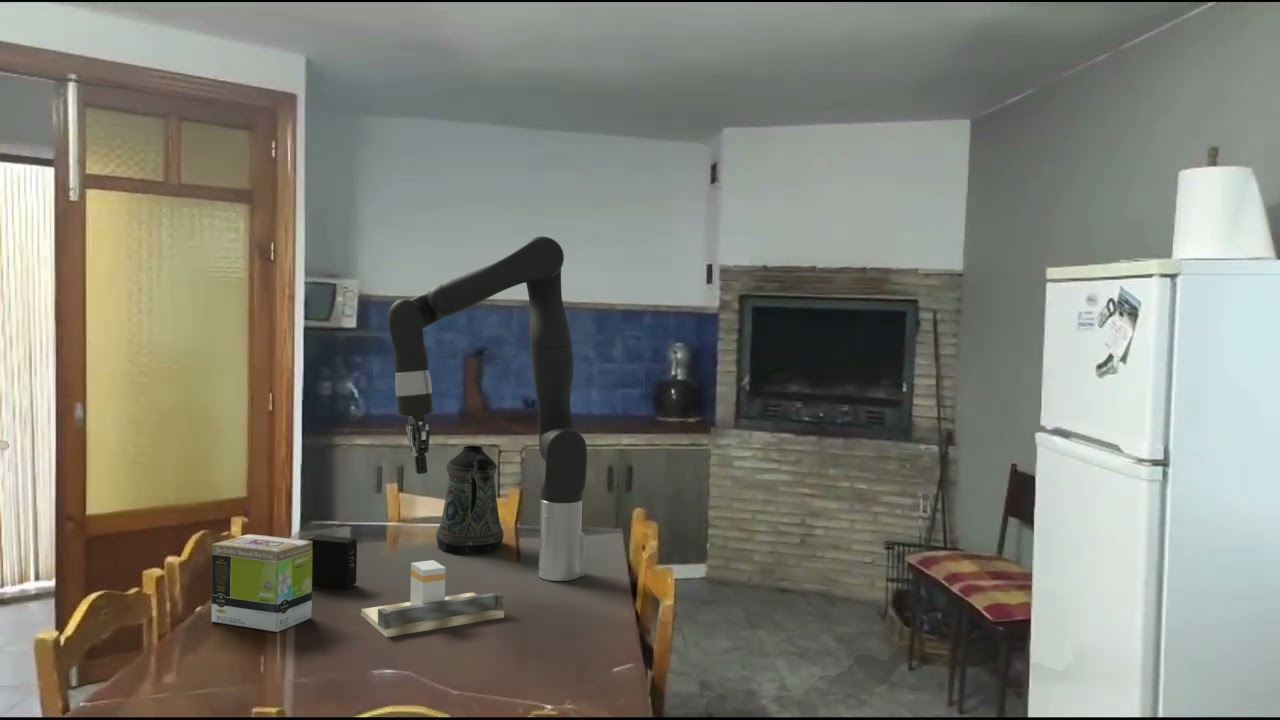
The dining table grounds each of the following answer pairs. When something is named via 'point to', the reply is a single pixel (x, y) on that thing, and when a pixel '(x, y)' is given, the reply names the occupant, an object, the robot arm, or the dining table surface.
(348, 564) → the electronic device
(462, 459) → the beer stein
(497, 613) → the mount board
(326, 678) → the dining table surface
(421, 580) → the module
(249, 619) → the tea box
